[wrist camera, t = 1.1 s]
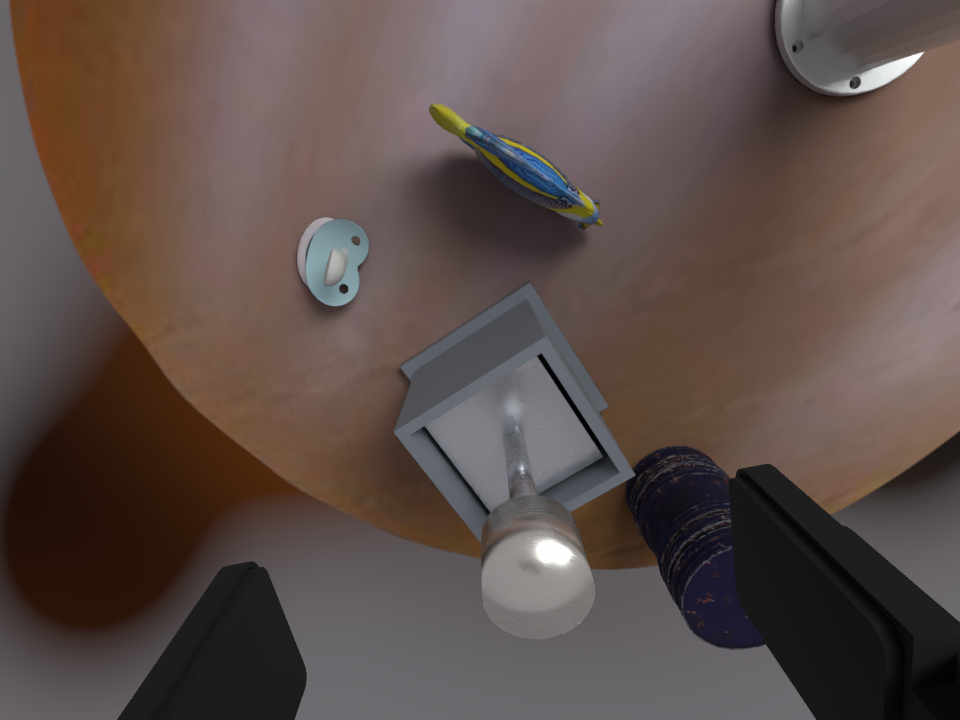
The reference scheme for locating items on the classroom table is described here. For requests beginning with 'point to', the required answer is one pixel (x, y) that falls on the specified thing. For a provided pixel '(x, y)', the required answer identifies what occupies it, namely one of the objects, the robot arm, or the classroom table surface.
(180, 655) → the robot arm
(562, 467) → the plunger
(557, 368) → the press housing
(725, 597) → the dark blue cylinder
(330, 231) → the pacifier
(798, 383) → the classroom table surface
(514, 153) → the tropical fish figurine
